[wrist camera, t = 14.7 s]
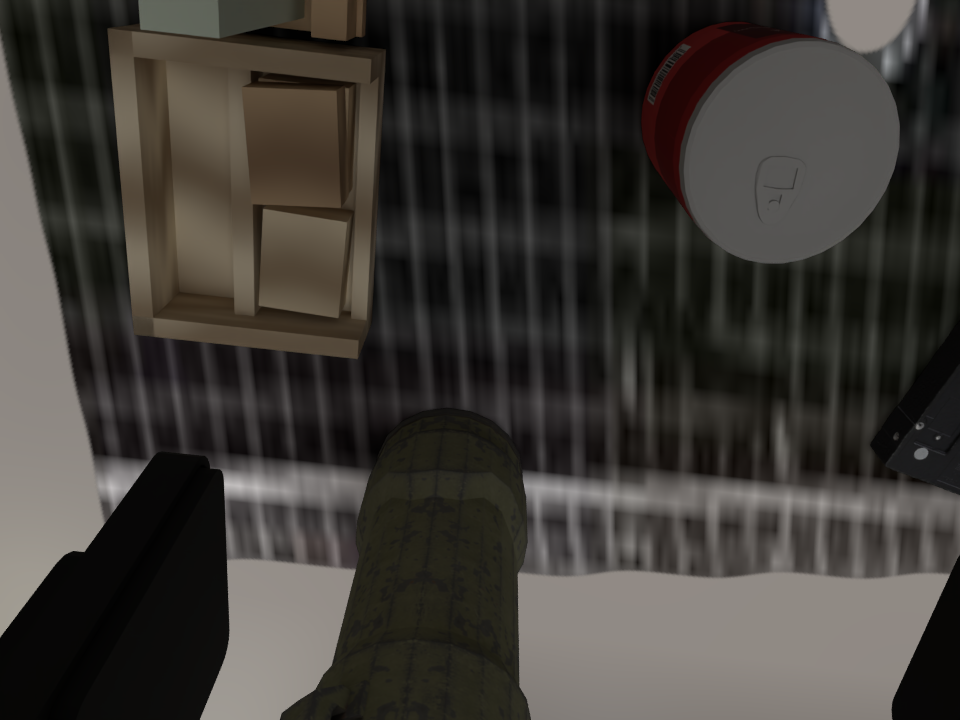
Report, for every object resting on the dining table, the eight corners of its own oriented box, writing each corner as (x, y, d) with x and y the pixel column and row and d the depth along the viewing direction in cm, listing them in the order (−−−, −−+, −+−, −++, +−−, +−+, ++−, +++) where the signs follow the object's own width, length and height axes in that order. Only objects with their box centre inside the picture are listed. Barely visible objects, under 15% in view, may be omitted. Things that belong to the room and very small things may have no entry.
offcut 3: (273, 198, 40) (262, 208, 38) (354, 211, 40) (346, 222, 39) (269, 291, 42) (258, 305, 41) (345, 303, 43) (338, 318, 41)
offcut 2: (254, 81, 36) (241, 86, 34) (345, 84, 36) (336, 91, 34) (263, 193, 38) (251, 204, 36) (348, 196, 38) (340, 208, 36)
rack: (150, 22, 38) (107, 28, 34) (385, 49, 38) (371, 59, 34) (168, 300, 44) (134, 334, 40) (371, 323, 44) (357, 358, 40)
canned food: (645, 205, 41) (690, 281, 31) (629, 37, 38) (673, 62, 28) (801, 178, 40) (898, 248, 30) (799, 5, 37) (907, 18, 27)
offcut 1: (270, 72, 38) (258, 78, 36) (356, 82, 38) (348, 88, 36) (271, 179, 40) (259, 189, 38) (352, 188, 40) (345, 199, 38)
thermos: (424, 360, 45) (229, 1275, 13) (571, 485, 48) (691, 1456, 17) (323, 456, 48) (-29, 1392, 16) (469, 568, 51) (408, 1527, 20)
